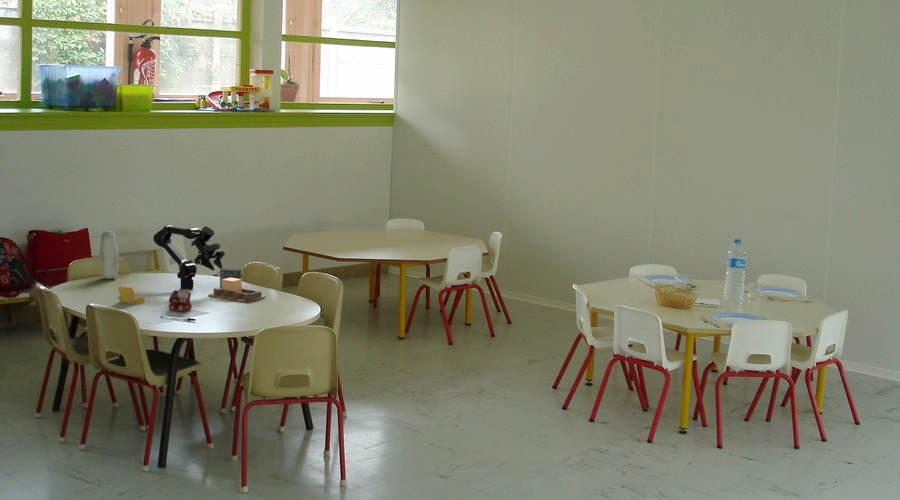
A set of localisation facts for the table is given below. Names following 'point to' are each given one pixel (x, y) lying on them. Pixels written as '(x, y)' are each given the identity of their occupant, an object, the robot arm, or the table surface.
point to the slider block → (232, 284)
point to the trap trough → (237, 295)
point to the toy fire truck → (180, 301)
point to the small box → (229, 274)
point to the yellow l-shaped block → (129, 296)
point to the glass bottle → (108, 255)
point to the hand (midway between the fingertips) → (217, 269)
